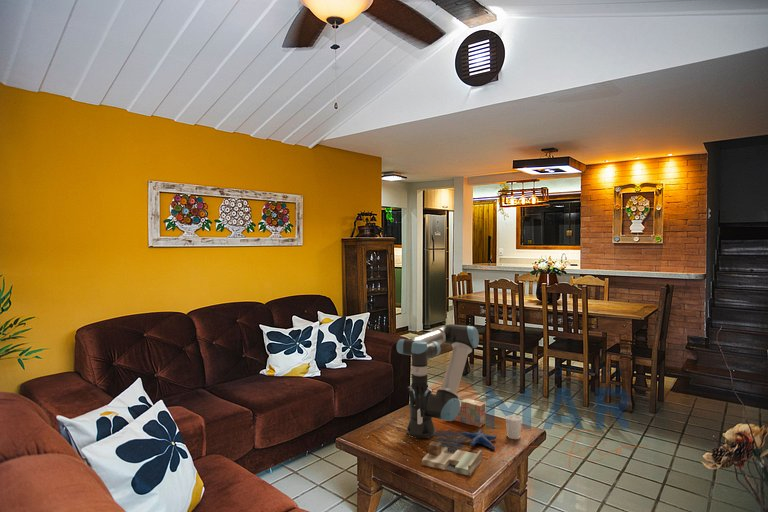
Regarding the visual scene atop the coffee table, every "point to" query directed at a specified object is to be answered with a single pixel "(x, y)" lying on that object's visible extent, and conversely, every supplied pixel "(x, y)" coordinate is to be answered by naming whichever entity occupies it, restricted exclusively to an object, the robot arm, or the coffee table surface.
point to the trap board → (454, 461)
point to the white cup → (513, 426)
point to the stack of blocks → (471, 412)
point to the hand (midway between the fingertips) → (420, 423)
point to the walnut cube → (434, 448)
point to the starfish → (480, 439)
